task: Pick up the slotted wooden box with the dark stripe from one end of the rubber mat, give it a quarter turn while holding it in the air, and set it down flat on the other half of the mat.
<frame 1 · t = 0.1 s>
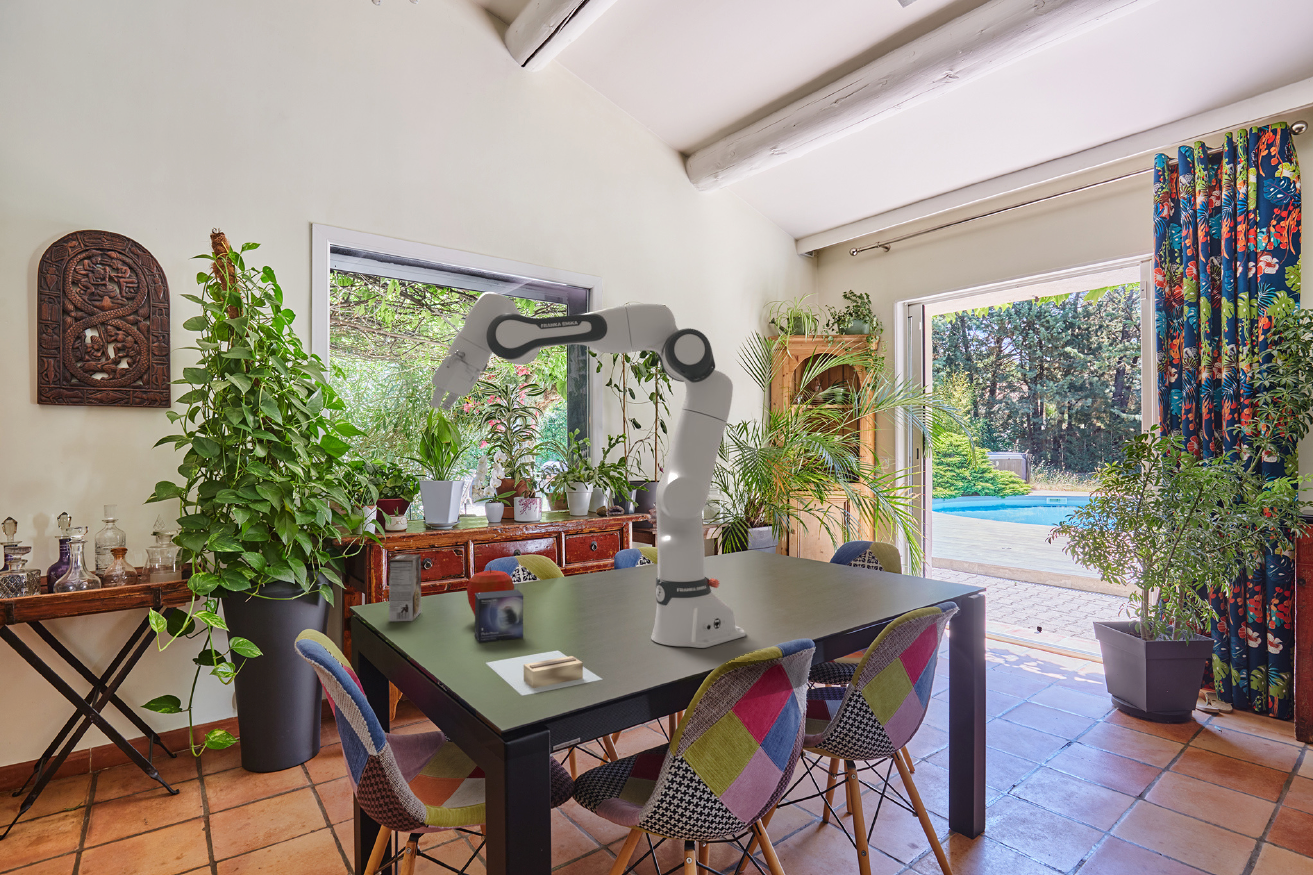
hand: (439, 408, 157), 54 cm above the table, tool tilted 30°, fingers open, 8 cm apart
coffee box: (405, 617, 180), on the table
slotted wooden box: (553, 679, 129), point 1 cm above the table, touching rubber mat
small box: (499, 638, 160), on the table
rubber mat: (541, 673, 134), on the table
apple: (490, 622, 175), on the table
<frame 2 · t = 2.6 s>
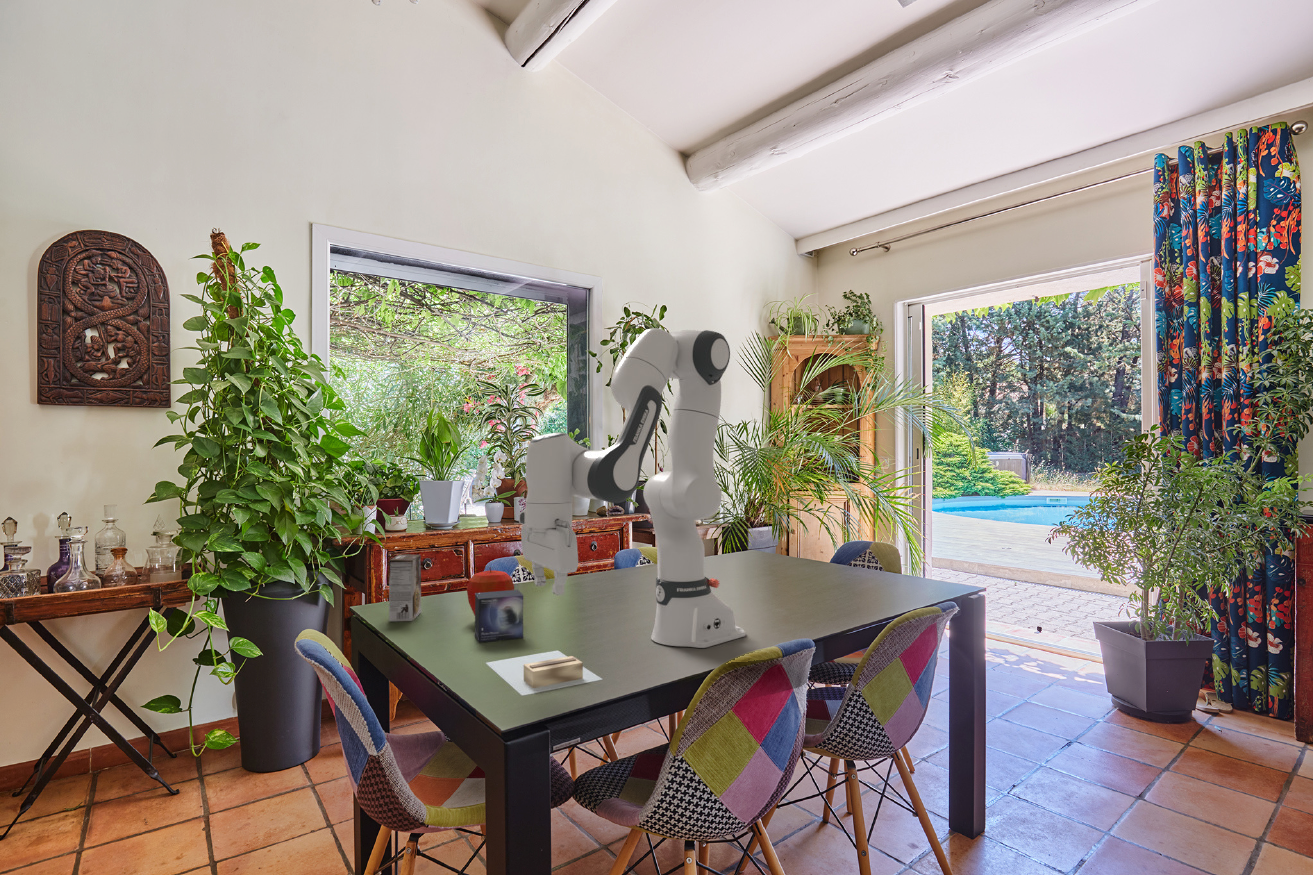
hand: (548, 589, 129), 18 cm above the table, tool pointing down, fingers open, 8 cm apart
nothing on the table moved.
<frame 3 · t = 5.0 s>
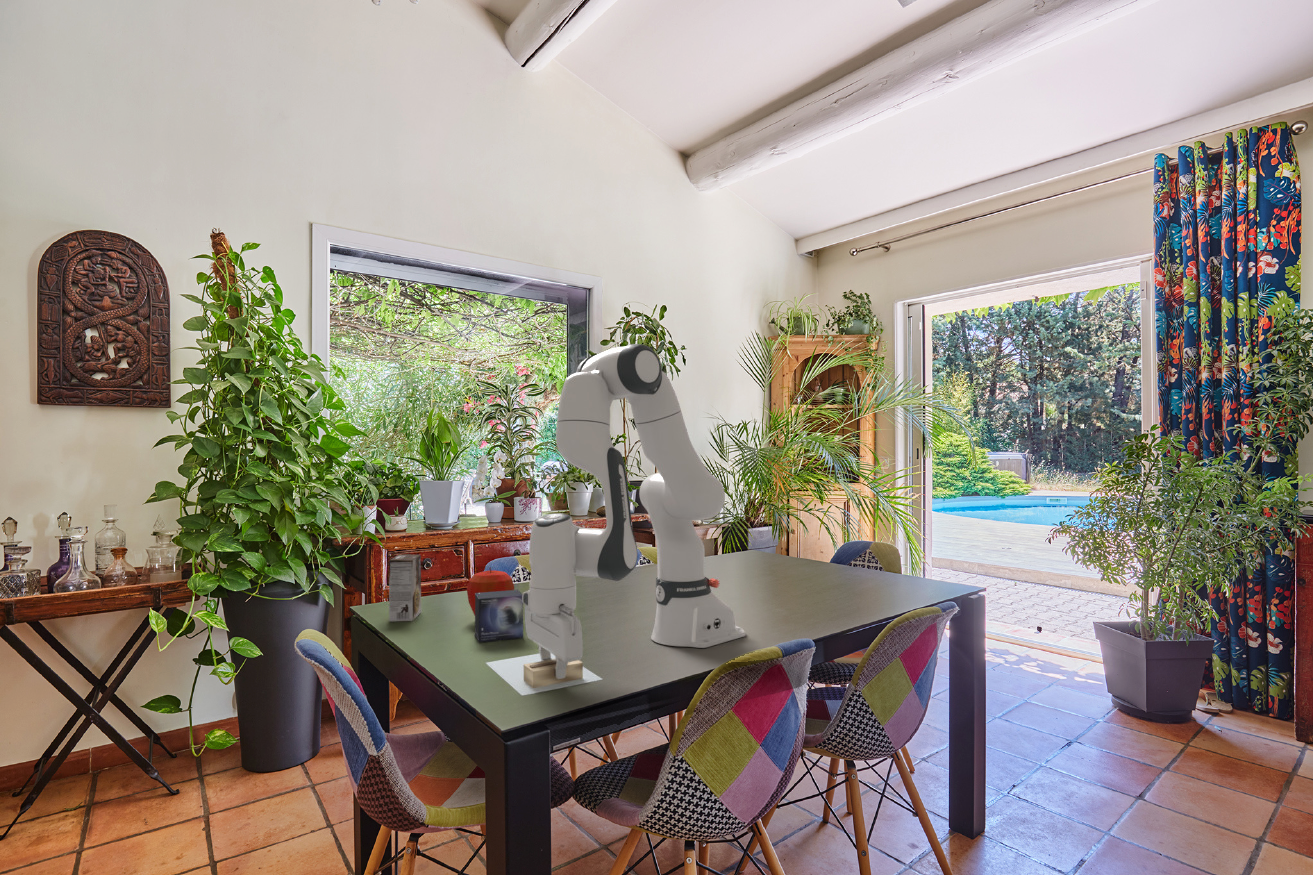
hand: (553, 672, 129), 2 cm above the table, tool pointing down, fingers closed on slotted wooden box, 5 cm apart
slotted wooden box: (553, 679, 129), point 1 cm above the table, touching gripper, rubber mat
everything else where it was.
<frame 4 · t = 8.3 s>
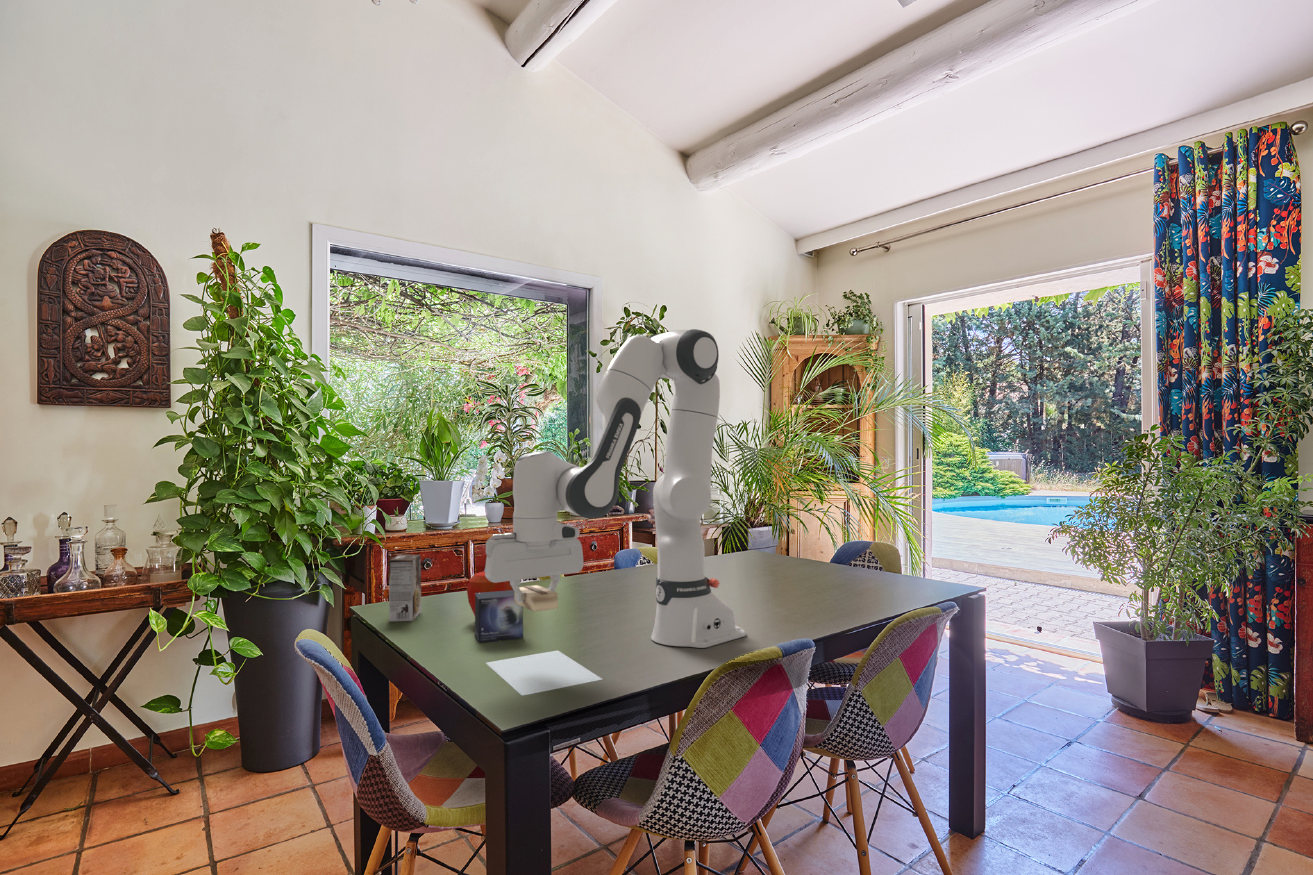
hand: (535, 599, 137), 14 cm above the table, tool pointing down, fingers closed on slotted wooden box, 5 cm apart
slotted wooden box: (535, 605, 137), point 13 cm above the table, touching gripper
everything else where it was.
when the fingers open (3 cm above the table, at t = 12.0 s): slotted wooden box stays where it is, resting on rubber mat.
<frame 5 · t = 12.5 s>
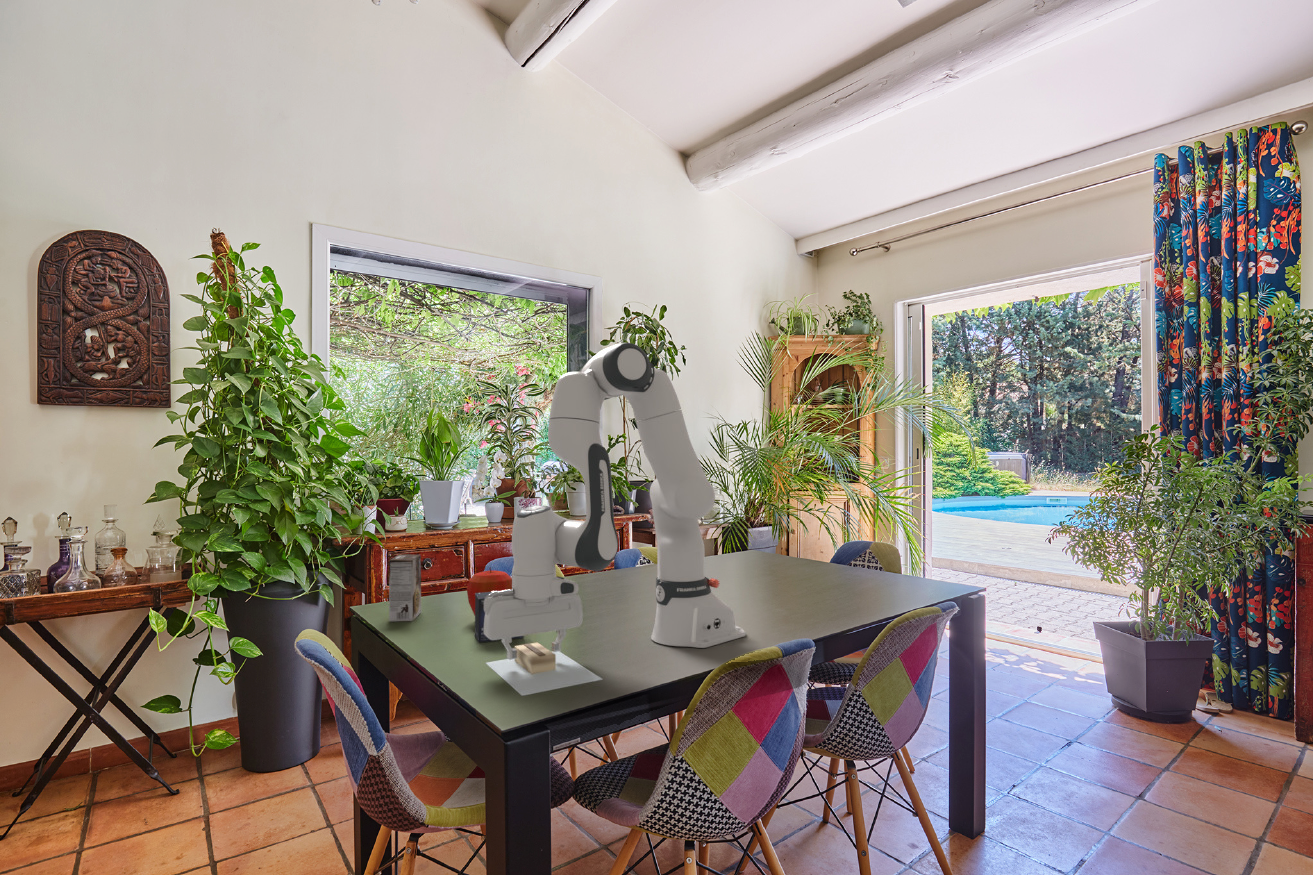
hand: (534, 654, 137), 3 cm above the table, tool pointing down, fingers open, 8 cm apart
slotted wooden box: (534, 665, 137), point 1 cm above the table, touching rubber mat
everything else where it was.
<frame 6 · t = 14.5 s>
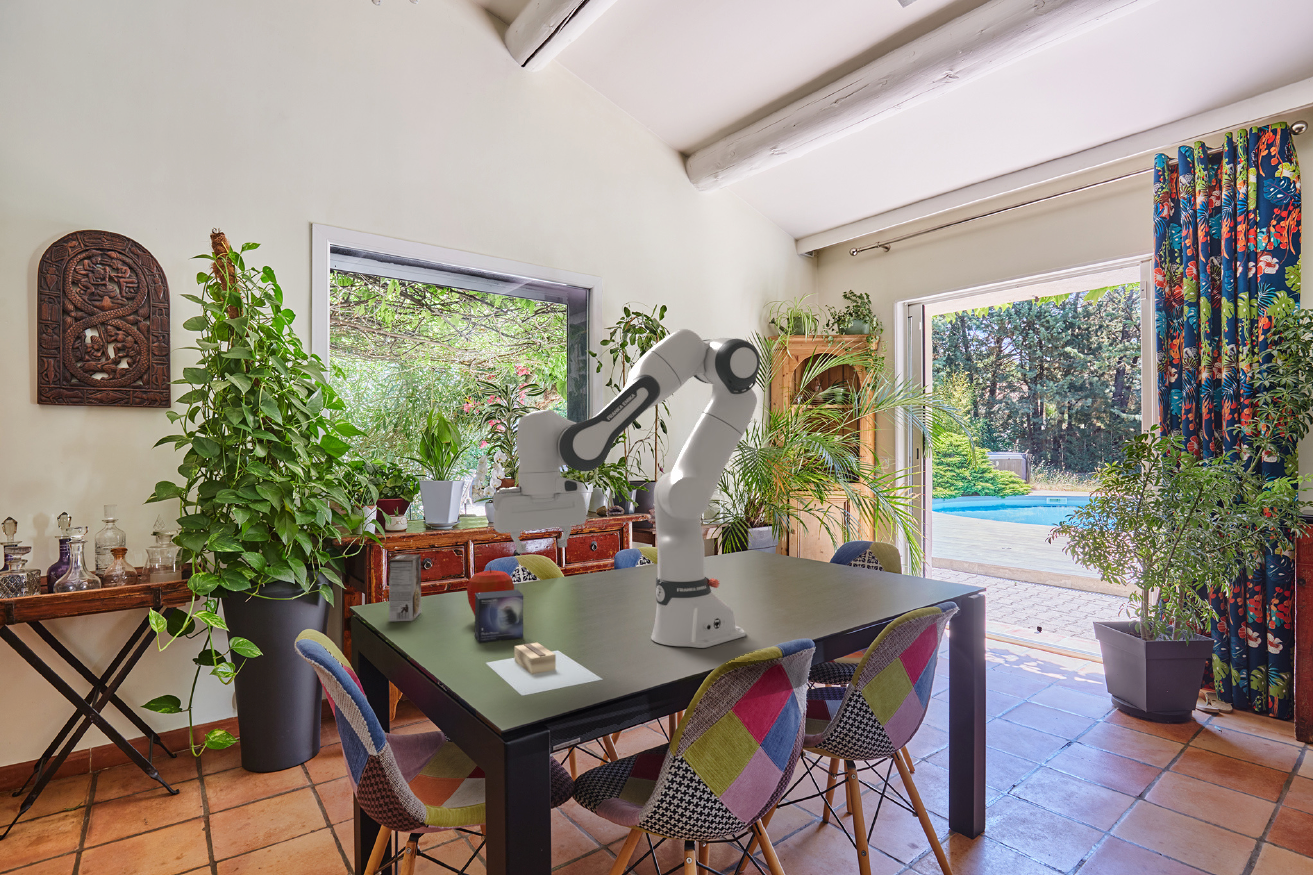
hand: (542, 549, 145), 23 cm above the table, tool pointing down, fingers open, 8 cm apart
nothing on the table moved.
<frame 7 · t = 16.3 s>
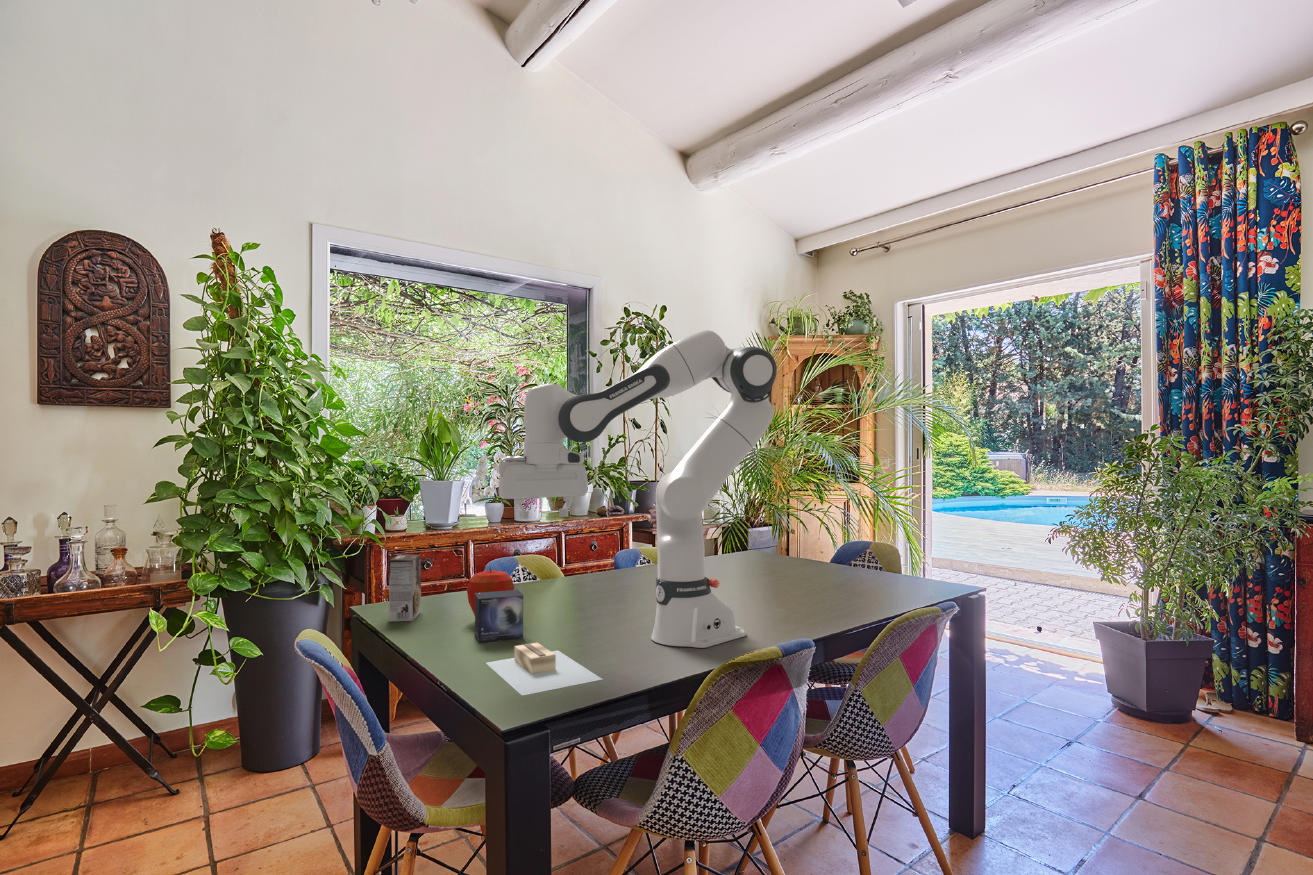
hand: (544, 517, 152), 29 cm above the table, tool pointing down, fingers open, 8 cm apart
nothing on the table moved.
at the end: slotted wooden box 0.1 cm from the target spot, point 0.6 cm above the table; slotted wooden box tilted 0°; the gripper is holding nothing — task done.
